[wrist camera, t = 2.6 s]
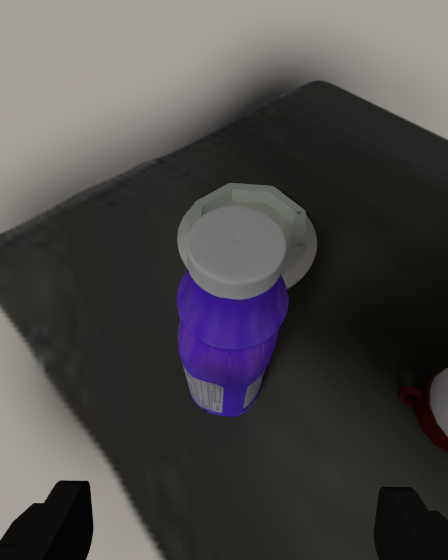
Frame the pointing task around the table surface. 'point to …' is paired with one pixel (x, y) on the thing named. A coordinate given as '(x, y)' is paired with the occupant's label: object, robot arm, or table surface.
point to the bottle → (231, 306)
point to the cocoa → (431, 406)
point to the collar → (275, 206)
